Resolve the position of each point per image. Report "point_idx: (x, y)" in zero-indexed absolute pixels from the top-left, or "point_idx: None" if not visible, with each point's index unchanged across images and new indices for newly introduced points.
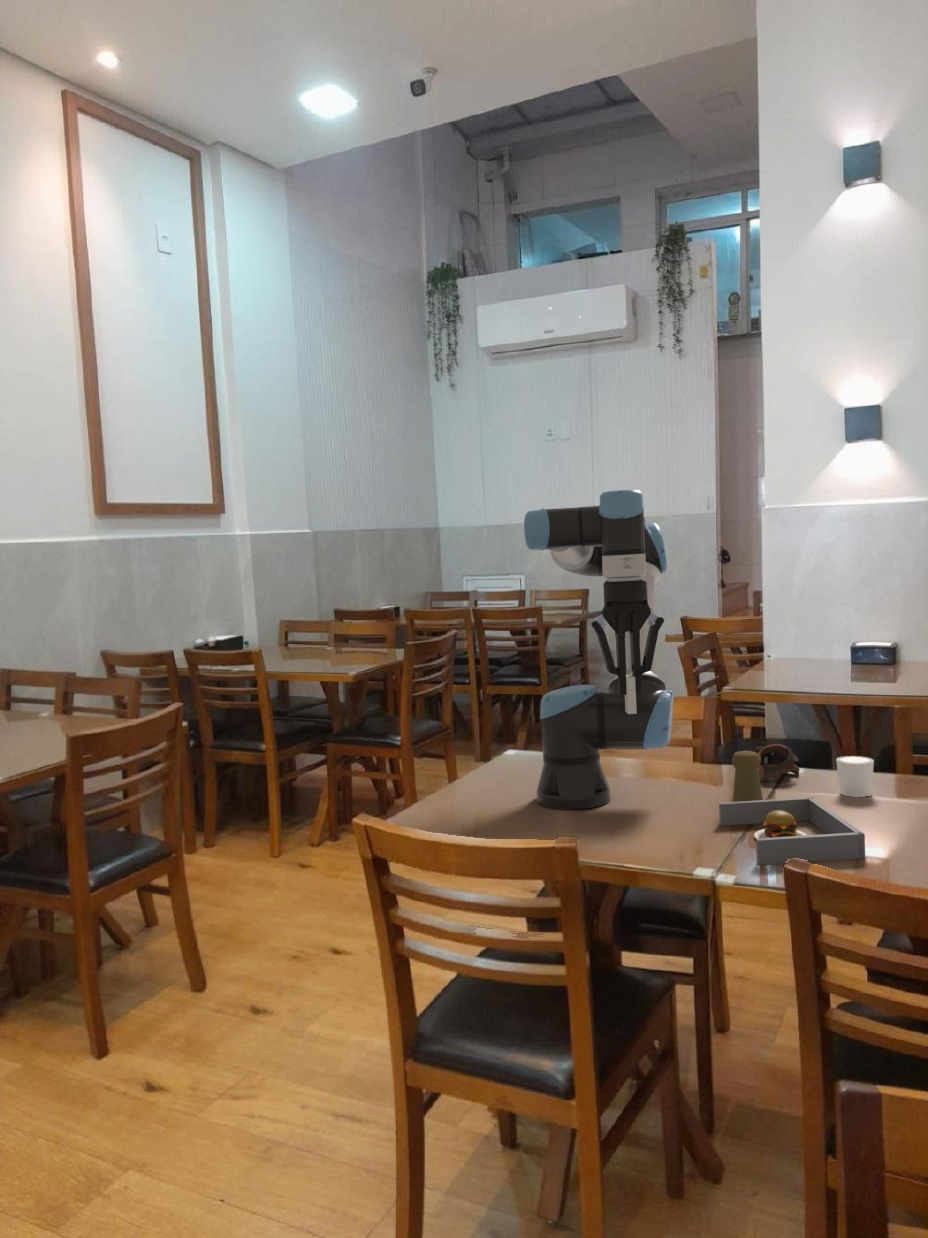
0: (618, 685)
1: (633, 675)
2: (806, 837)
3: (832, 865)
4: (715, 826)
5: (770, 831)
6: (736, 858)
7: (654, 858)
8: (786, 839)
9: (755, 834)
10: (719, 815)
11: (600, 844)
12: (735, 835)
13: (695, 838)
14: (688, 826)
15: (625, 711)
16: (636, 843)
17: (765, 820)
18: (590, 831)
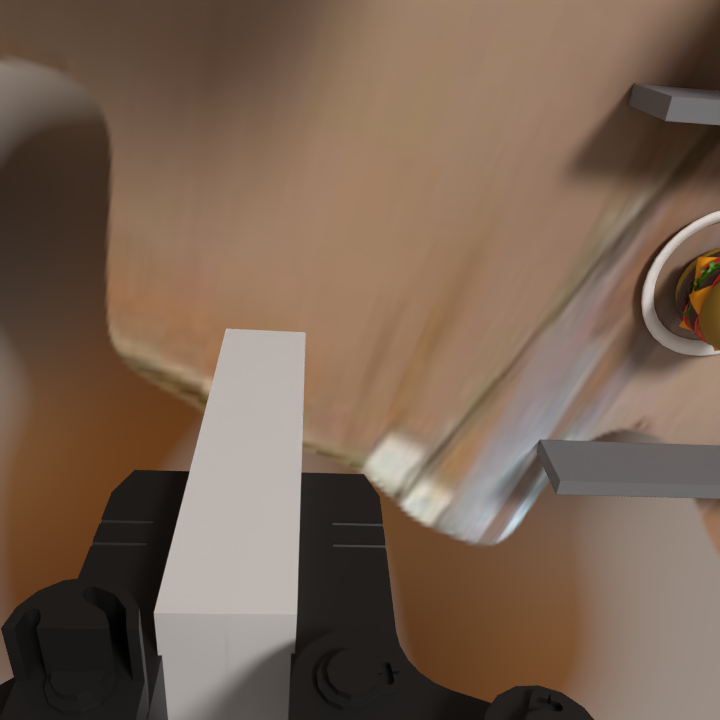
0: (92, 554)
1: (287, 718)
2: (682, 497)
3: None
4: (607, 102)
5: (688, 316)
6: (511, 400)
7: None
8: (630, 494)
9: (665, 251)
10: (648, 89)
11: (152, 197)
12: (614, 219)
13: (481, 216)
14: (517, 72)
15: (226, 329)
16: (277, 217)
17: (703, 306)
18: (126, 25)
